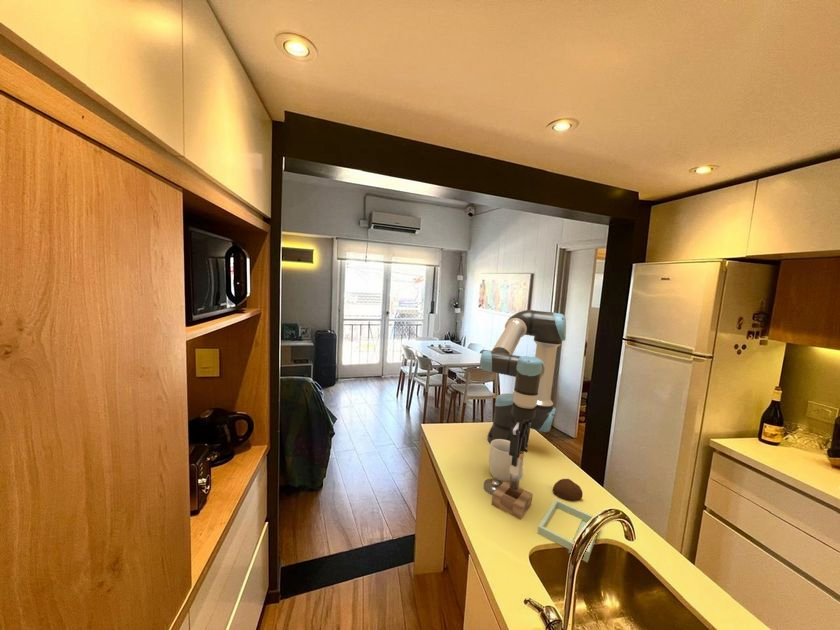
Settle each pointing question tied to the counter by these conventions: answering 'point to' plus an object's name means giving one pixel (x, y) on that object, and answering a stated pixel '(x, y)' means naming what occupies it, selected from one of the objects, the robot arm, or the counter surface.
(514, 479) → the pin
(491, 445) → the mug
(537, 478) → the counter surface
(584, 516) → the light teal rectangular frame
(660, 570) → the counter surface
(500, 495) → the block
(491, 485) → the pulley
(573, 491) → the potato
